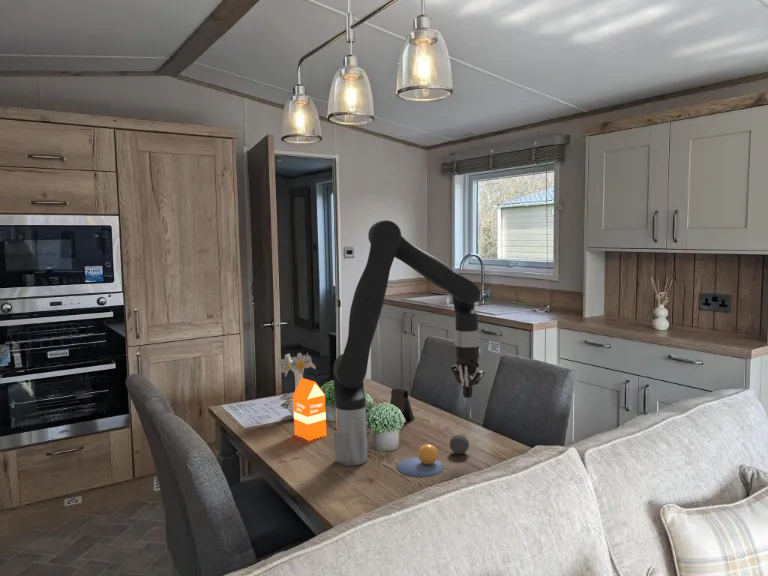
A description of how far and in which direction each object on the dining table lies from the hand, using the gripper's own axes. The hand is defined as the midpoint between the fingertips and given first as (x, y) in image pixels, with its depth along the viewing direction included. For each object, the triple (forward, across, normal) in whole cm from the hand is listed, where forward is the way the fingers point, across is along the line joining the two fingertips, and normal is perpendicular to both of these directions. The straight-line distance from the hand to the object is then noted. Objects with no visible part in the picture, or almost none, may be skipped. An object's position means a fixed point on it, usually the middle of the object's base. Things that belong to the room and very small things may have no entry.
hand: (467, 397), depth 178 cm
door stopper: (+17, -36, +2) cm, 40 cm away
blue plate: (+17, 0, -21) cm, 27 cm away
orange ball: (+14, 0, -18) cm, 23 cm away
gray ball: (+14, +1, -5) cm, 15 cm away
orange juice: (+17, -46, -31) cm, 58 cm away
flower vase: (+17, -68, -23) cm, 74 cm away
